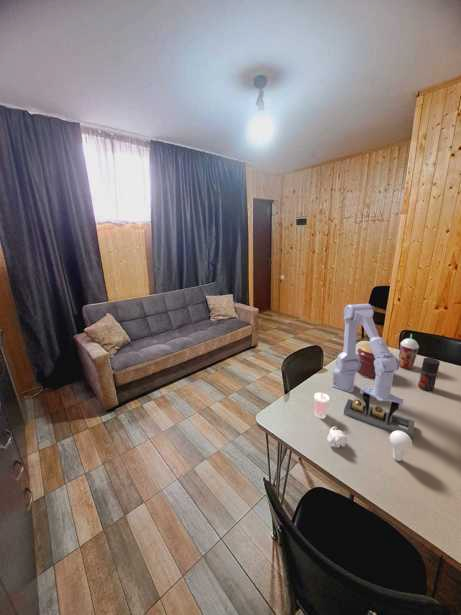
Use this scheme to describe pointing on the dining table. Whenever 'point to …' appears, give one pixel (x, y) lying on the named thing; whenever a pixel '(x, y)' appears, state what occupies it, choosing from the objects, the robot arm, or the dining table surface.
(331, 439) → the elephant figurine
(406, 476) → the dining table surface
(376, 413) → the knobbed gold cube
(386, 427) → the rack rail
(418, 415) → the dining table surface
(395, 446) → the lightbulb
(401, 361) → the smoothie
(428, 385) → the deodorant
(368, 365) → the canister
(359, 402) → the gold knobbed block
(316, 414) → the beverage cup
